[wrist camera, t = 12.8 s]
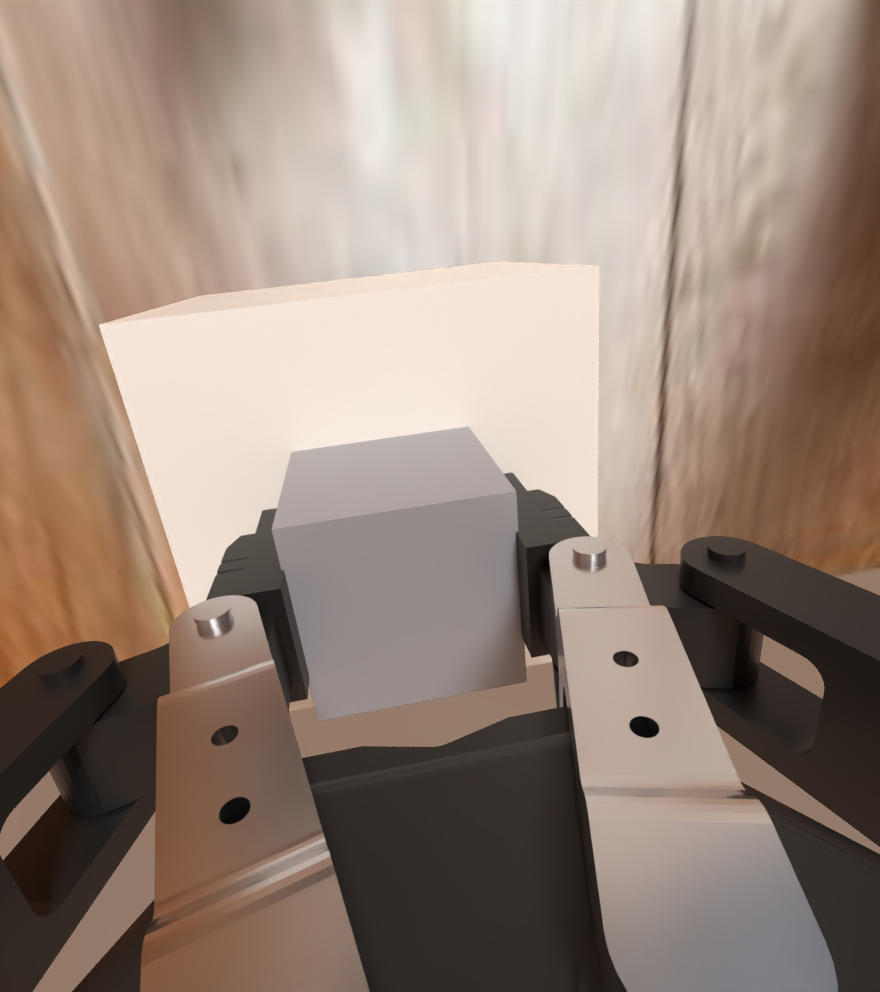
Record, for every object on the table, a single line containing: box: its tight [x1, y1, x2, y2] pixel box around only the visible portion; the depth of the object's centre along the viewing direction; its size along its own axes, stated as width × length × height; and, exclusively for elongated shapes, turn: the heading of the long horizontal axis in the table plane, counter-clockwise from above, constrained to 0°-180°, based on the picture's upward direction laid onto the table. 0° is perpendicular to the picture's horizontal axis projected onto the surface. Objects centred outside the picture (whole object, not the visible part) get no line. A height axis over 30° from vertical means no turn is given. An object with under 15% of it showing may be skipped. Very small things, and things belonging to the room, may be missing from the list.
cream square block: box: [99, 262, 599, 722], centre depth 16 cm, size 10×10×13 cm
